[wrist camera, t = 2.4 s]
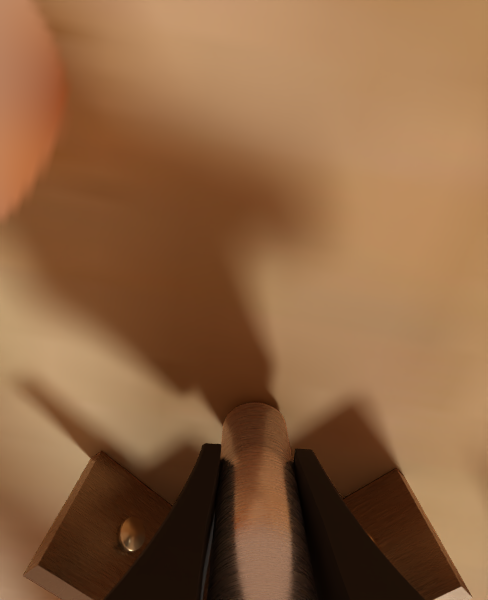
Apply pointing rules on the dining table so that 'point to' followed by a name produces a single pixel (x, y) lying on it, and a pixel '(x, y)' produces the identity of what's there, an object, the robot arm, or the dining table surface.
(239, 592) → the pin
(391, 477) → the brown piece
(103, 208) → the dining table surface
